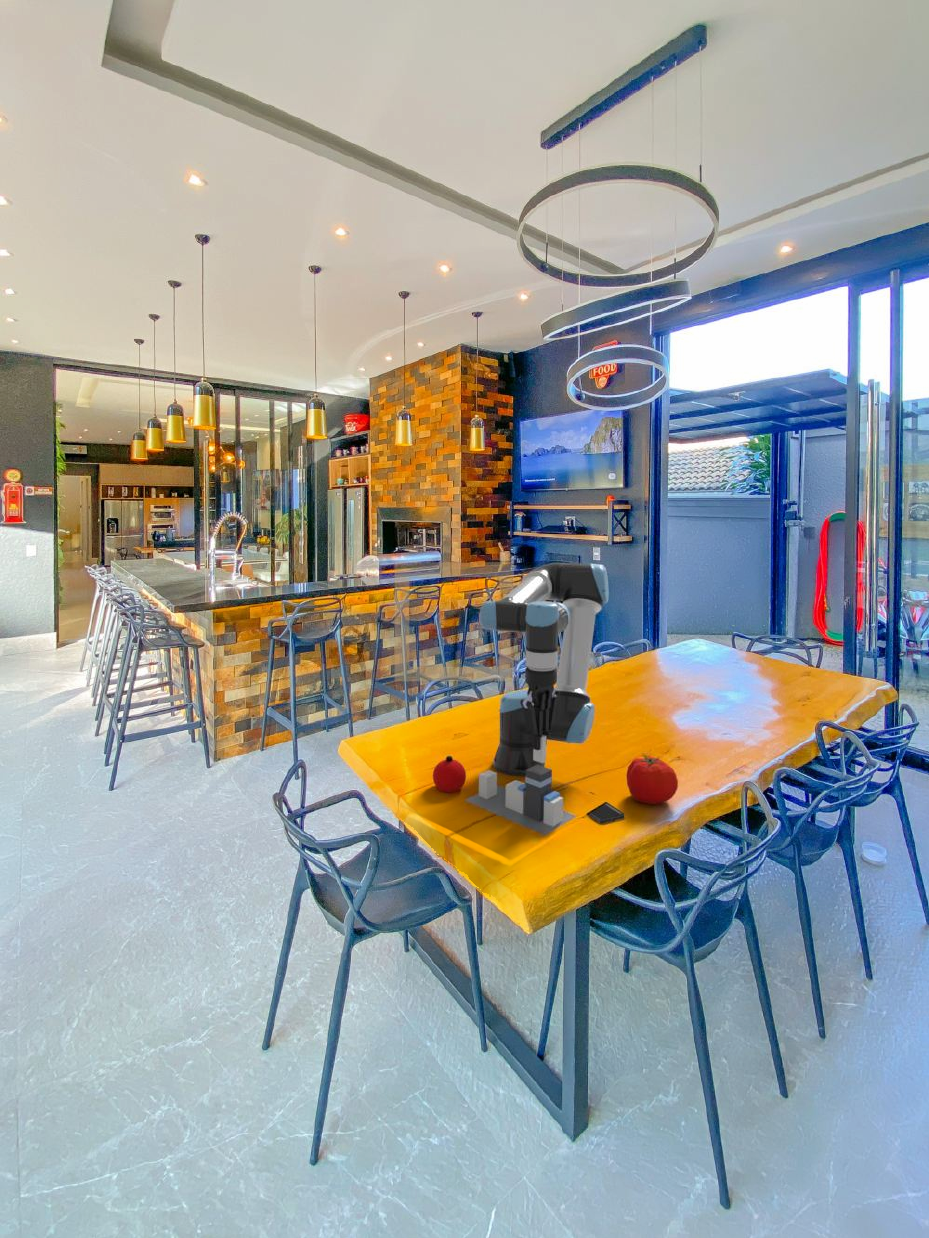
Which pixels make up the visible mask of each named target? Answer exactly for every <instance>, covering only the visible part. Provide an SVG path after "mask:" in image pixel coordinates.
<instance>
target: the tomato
mask: <svg viewBox="0 0 929 1238" xmlns="http://www.w3.org/2000/svg"><path fill="white" fill-rule="evenodd" d="M642 756H643V758H640V757H639V758H638V757H637V758H634V759H632V761H631V762H630V764H628V766H627V770H626V771H627V772H626V785H627V788H628V789H629V793H630V795H631V796H632V797H633V799H634V800H635V801H637V802H639V803H644V804H649V805H655V804H665V803H667V802H668V801H669V800H670V799H672V798H673V796H675V794H676V792H677V791H678V788H679V787H678V785H679V780H678V777H677V774H676V773H677V772H675V770H674V768H673V767H671V766H670V765H669V764H668V763H666V762H664V761H663V760H662V759H660V758H661V757H662V756H661V757H660V756H659V757H653V756H646V755H645V754H644V753H642Z"/></svg>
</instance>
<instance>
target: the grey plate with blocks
mask: <svg viewBox="0 0 929 1238" xmlns="http://www.w3.org/2000/svg"><path fill="white" fill-rule="evenodd" d="M497 783H498V772H495V771H493V770H491V769H489V770H486V771H484V772H481V773H479V774H478V793H477V794H474V795H472V796H470V797H468V798H466V799H464V801H465V802H468V803H469V804H471V805H473V806H476V807H479V808H481V809H483V810H486V811H488V812H490V813H492V814H494V815H497V816H499V817H501V818H504V819H507V820H509V821H510V822H512V823H513V822H514V823H516V824H518V825H520V826H522V827H524V828H526V829H529V830H532V831H534V832H537V833H539V834H541V835H543V836H546V835H549V834H550V833H551V832H553V831H554V830H556V829H559V827H561V826H563V825H565V824H566V823H568V822H569V821H571V820H573V819H574V818H576V817H577V815H576V814H573V813H571V812H568V811H565V810H564V797H562V796H561V793H560V792H557V791H556V790H554V791H551V793H550V794H548V795H546V796H544V820H542V821H540V822H539V821H536V820H534V819H532V818H529V817H527V816H525V793H526V782H522V781H519V780H518V779H517V780H516V779H515V780H513V781H511V782H509V783H507V784H505V787H504V786H501V785H499V784H497ZM561 829H562V828H561ZM561 829H559V831H560V830H561ZM547 838H549V837H547Z"/></svg>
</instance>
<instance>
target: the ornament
mask: <svg viewBox="0 0 929 1238" xmlns="http://www.w3.org/2000/svg"><path fill="white" fill-rule="evenodd" d="M466 779H467V772H466V770H465V767H464V766H463V764H462V763H461V762H460V761H458V760H456V759H454V758H453V756H452V755H448V756H446V757H445V759H442V760H440V761H439V762H438V763H437V764H436V766H435V767H434V769H433V772H432V780H433V783H434V785H435V787H436V788H437V789H438V790H439V791H440V792H443V793H448V794H449V793H457V792H458V791H460V790H461V789H462V788H463V786H464V785H465V782H466Z"/></svg>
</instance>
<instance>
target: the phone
mask: <svg viewBox="0 0 929 1238" xmlns="http://www.w3.org/2000/svg"><path fill="white" fill-rule="evenodd" d="M588 793H589V794H592V795H595V793H594V792H593V791H592V792H591V791H588ZM586 815H588V816H589V817H590V818H592V819H593V820H595V821H596V823H599V824H608V823H611V822H616V821H620V820H623V819H625V813H624V812H623V811H622V810H619V809H618V808H617V807H615V806H613V805H612V804H611V803H610V802H608V801H605V802H602V803H601V804H600V805H598V806H597V807H595V808H593V809H592V810H590V811H588V812H587V813H586Z"/></svg>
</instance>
